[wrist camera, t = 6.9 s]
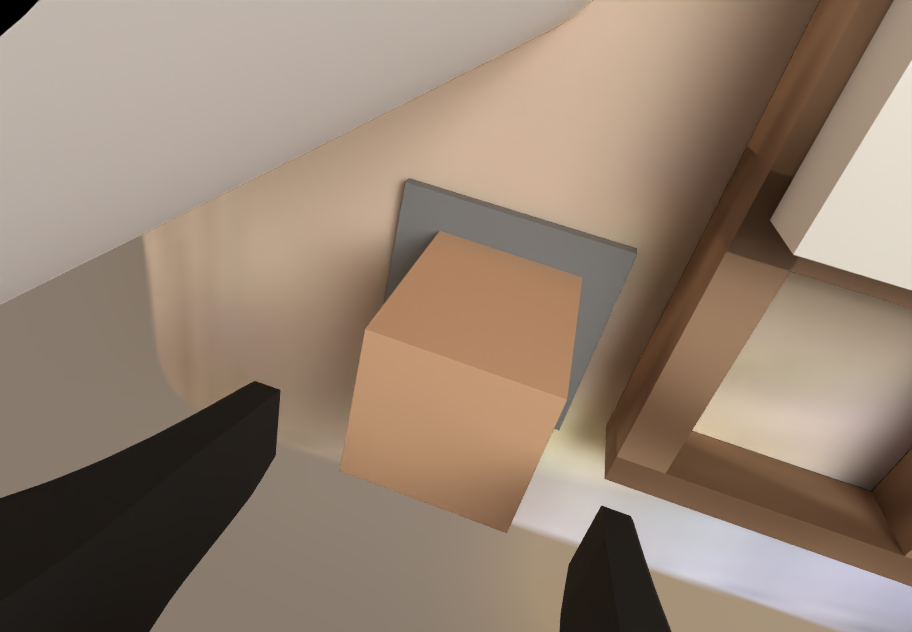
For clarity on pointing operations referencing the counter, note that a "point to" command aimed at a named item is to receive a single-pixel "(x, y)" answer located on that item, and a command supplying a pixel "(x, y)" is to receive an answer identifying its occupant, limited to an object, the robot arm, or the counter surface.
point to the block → (463, 379)
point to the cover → (861, 167)
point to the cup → (202, 102)
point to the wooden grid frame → (731, 324)
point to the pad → (523, 238)
